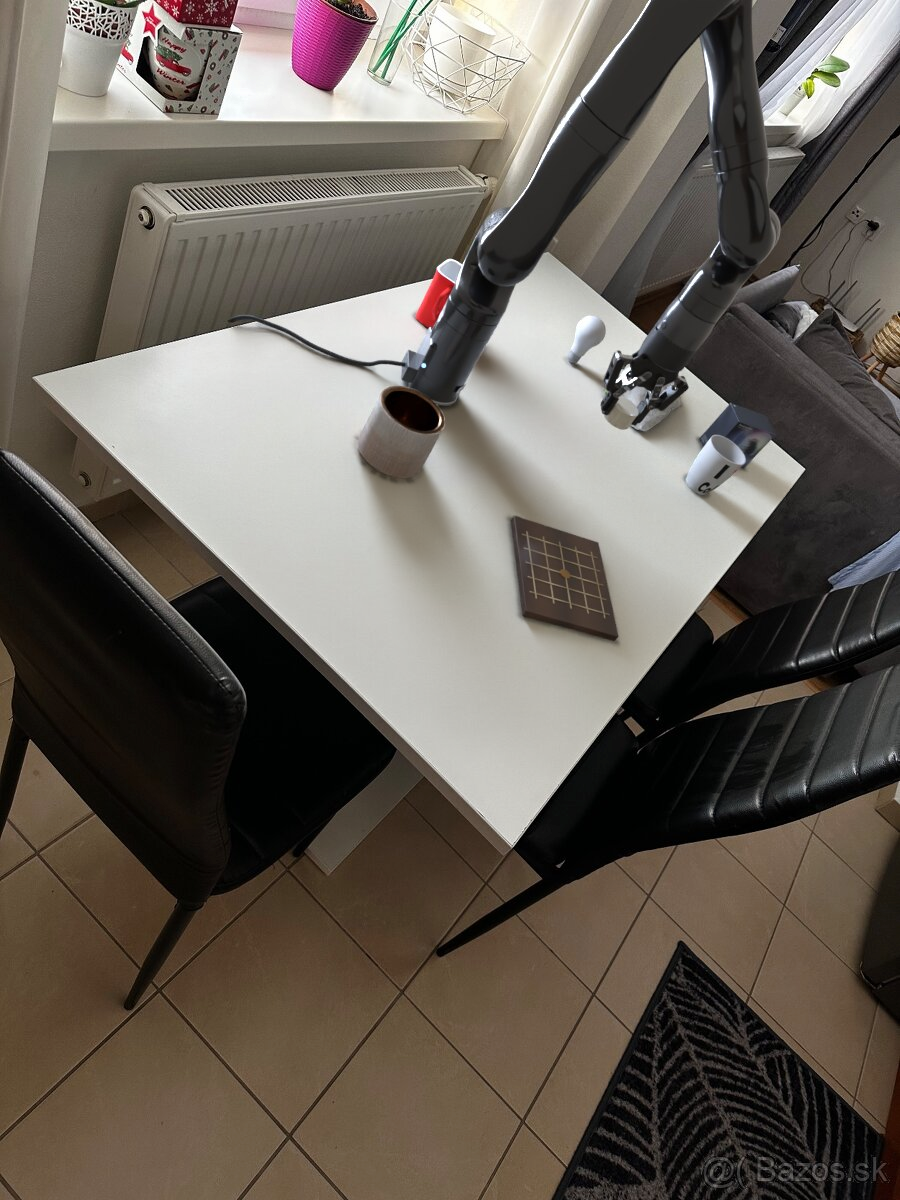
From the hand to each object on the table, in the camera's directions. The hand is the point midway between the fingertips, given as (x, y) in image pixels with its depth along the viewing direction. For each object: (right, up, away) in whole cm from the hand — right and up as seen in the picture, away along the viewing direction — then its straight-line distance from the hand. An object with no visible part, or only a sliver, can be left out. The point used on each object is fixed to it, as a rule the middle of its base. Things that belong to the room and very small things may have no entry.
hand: (617, 416), depth 141 cm
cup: (+21, -8, +30) cm, 38 cm away
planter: (-37, -8, -7) cm, 39 cm away
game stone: (0, 0, 0) cm, 1 cm away
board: (-10, -27, -8) cm, 30 cm away
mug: (-31, +22, +24) cm, 45 cm away
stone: (+13, +13, +43) cm, 47 cm away
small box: (+31, +1, +44) cm, 53 cm away
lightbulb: (-2, +20, +40) cm, 44 cm away
